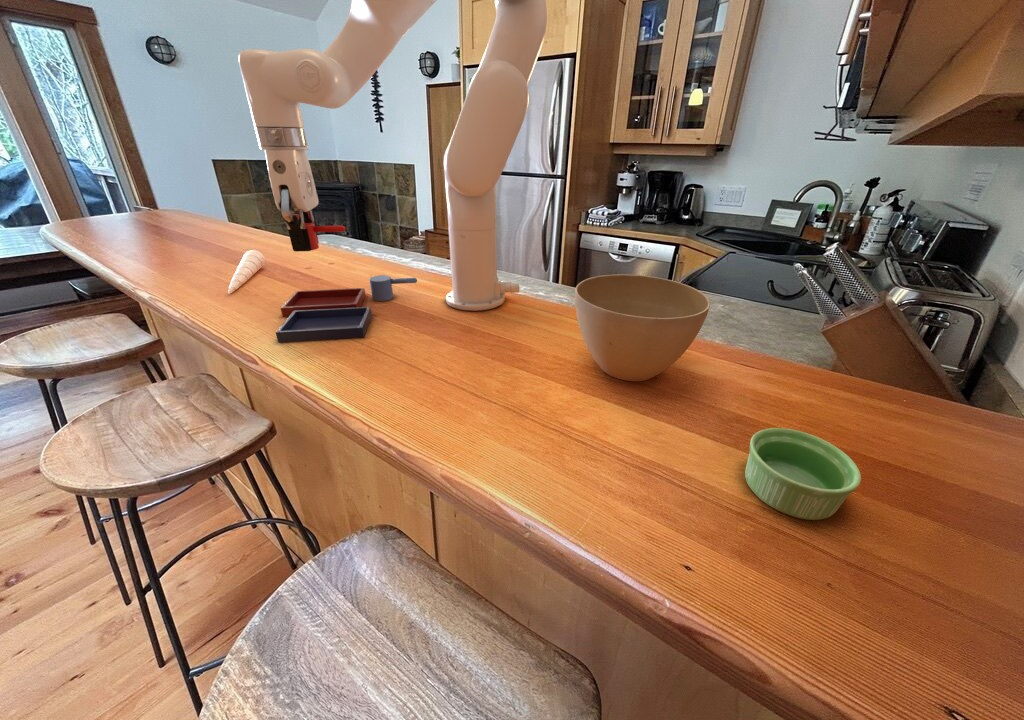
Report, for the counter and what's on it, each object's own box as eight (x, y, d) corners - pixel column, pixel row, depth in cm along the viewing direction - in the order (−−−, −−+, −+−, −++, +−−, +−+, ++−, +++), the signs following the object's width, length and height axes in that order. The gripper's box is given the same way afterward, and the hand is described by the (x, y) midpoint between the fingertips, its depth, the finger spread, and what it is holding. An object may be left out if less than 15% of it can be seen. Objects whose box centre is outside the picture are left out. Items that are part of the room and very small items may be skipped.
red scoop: (350, 244, 82) (346, 222, 80) (346, 250, 78) (342, 226, 76) (297, 246, 81) (292, 222, 79) (290, 251, 77) (285, 227, 75)
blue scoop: (419, 292, 94) (417, 273, 91) (418, 299, 90) (416, 279, 88) (374, 294, 92) (370, 275, 90) (371, 301, 88) (367, 281, 86)
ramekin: (819, 543, 36) (838, 508, 34) (721, 482, 42) (732, 449, 40) (857, 497, 41) (876, 463, 38) (764, 448, 47) (776, 417, 45)
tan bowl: (601, 410, 53) (613, 324, 48) (552, 349, 69) (556, 278, 63) (718, 390, 58) (742, 309, 52) (648, 337, 73) (660, 270, 67)
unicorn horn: (210, 296, 90) (202, 275, 88) (248, 267, 111) (243, 249, 109) (233, 295, 91) (226, 274, 89) (267, 266, 112) (262, 249, 110)
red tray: (365, 296, 91) (364, 287, 90) (357, 313, 83) (356, 304, 82) (298, 299, 89) (296, 290, 89) (282, 317, 81) (280, 307, 80)
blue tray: (372, 315, 81) (370, 306, 80) (363, 337, 72) (362, 327, 72) (296, 319, 79) (293, 310, 78) (278, 342, 71) (275, 332, 70)
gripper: (290, 141, 64) (316, 258, 72) (318, 140, 78) (336, 238, 87) (238, 140, 63) (270, 259, 71) (276, 139, 77) (298, 238, 86)
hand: (306, 246), depth 79 cm, fingers closed on red scoop, 4 cm apart
